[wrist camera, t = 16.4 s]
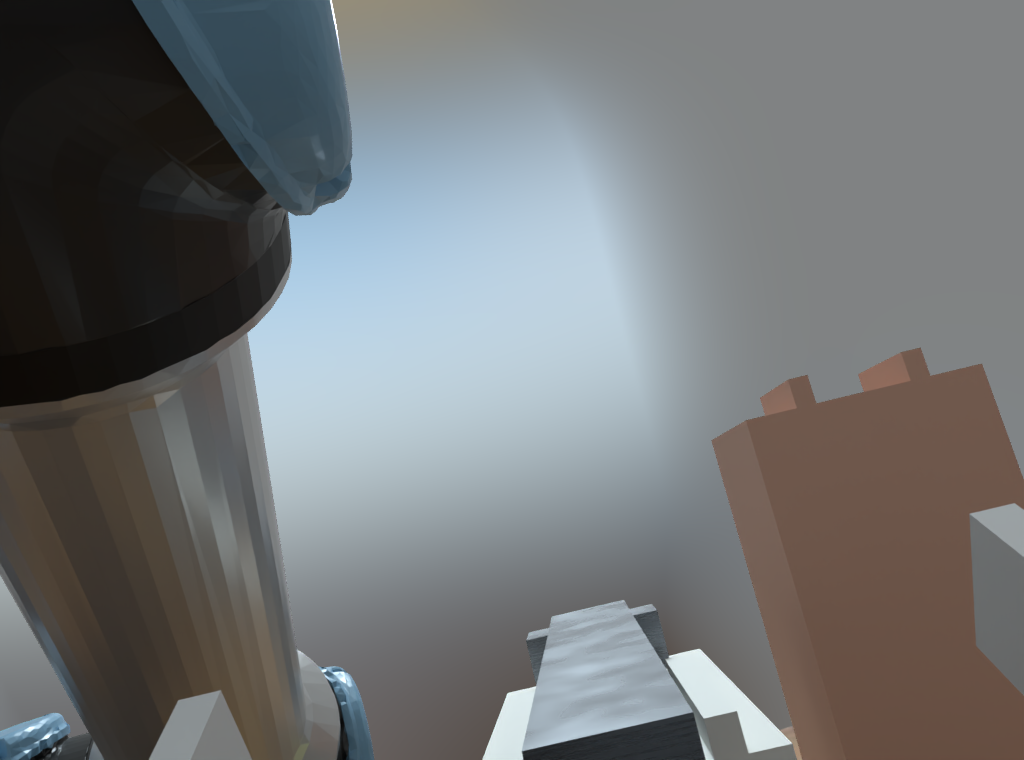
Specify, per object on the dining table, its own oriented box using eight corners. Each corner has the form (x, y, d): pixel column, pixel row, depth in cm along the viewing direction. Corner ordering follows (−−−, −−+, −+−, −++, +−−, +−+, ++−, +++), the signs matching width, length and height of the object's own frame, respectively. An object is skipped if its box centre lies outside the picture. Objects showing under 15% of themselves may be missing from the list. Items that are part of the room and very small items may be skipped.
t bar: (499, 957, 15) (460, 765, 16) (543, 697, 37) (526, 622, 37) (808, 889, 15) (755, 697, 15) (668, 668, 36) (648, 593, 37)
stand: (944, 1092, 33) (737, 392, 39) (860, 962, 43) (704, 417, 49) (1223, 1033, 33) (971, 335, 39) (1074, 916, 43) (891, 372, 49)
